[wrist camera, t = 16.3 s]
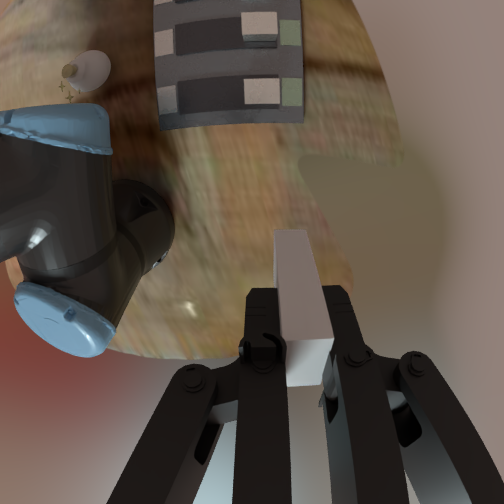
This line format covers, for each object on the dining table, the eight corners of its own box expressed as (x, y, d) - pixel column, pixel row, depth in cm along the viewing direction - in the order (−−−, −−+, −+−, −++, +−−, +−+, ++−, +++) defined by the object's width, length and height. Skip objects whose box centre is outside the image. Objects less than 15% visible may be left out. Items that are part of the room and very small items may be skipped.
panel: (163, 129, 32) (146, 137, 27) (158, -23, 20) (141, -38, 14) (301, 122, 32) (310, 127, 26) (295, -35, 19) (301, -55, 14)
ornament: (117, 46, 25) (76, 39, 17) (120, 93, 29) (79, 98, 21) (83, 59, 26) (39, 58, 17) (86, 103, 30) (43, 113, 21)
